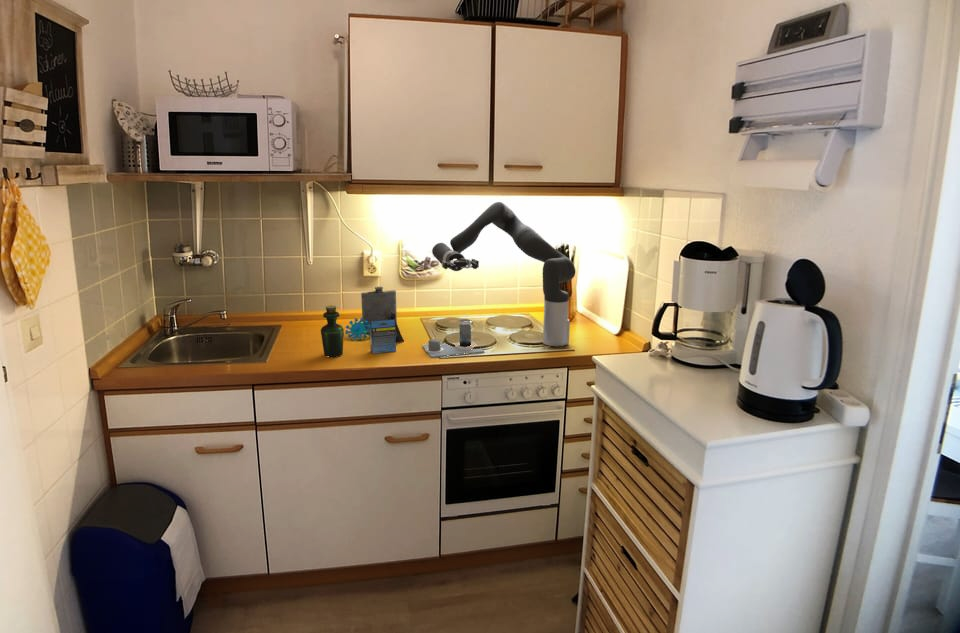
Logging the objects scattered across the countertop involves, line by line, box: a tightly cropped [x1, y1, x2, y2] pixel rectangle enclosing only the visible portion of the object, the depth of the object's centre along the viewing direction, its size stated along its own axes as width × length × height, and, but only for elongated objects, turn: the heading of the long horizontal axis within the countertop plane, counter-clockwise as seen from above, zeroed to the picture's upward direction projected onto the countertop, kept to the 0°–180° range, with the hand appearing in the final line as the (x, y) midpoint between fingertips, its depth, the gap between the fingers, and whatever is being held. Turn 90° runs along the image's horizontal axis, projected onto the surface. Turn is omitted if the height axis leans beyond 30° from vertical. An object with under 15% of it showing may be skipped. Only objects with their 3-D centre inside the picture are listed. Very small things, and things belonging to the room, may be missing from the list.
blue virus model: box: [344, 317, 370, 341], centre depth 251 cm, size 11×6×10 cm
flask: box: [360, 286, 398, 330], centre depth 260 cm, size 4×14×18 cm, turn 111°
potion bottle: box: [320, 305, 345, 358], centre depth 227 cm, size 8×8×18 cm
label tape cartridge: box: [369, 320, 397, 354], centre depth 232 cm, size 9×4×12 cm, turn 109°
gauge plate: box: [421, 338, 485, 359], centre depth 236 cm, size 20×14×4 cm
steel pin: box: [458, 318, 472, 347], centre depth 236 cm, size 4×4×10 cm
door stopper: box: [382, 310, 405, 344], centre depth 245 cm, size 9×6×12 cm, turn 111°
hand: (465, 267), depth 247 cm, fingers open, 8 cm apart
